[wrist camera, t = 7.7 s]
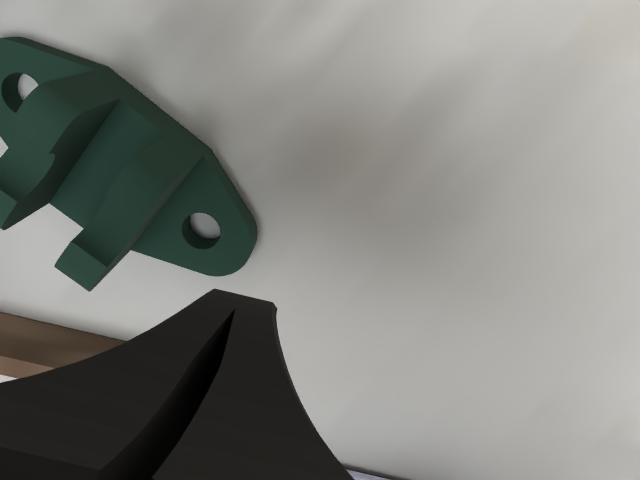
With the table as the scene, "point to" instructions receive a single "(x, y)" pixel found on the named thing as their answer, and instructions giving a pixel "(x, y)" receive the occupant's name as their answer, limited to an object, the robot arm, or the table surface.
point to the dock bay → (44, 346)
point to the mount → (111, 169)
